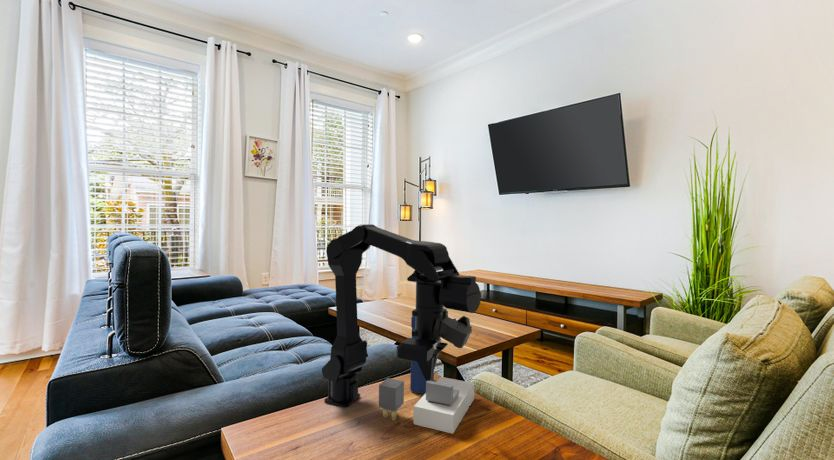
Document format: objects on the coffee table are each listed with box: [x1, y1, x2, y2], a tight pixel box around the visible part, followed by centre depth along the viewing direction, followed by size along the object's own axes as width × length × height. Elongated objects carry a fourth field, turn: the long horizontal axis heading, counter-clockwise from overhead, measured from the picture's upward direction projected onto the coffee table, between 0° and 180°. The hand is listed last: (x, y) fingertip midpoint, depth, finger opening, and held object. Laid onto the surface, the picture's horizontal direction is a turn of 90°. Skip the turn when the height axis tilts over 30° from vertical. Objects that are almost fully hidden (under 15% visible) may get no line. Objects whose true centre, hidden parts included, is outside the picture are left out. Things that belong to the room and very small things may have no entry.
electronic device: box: [409, 315, 435, 395], centre depth 104 cm, size 10×5×20 cm, turn 168°
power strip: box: [413, 376, 475, 434], centre depth 91 cm, size 9×17×4 cm, turn 157°
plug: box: [378, 377, 405, 421], centre depth 88 cm, size 4×4×8 cm
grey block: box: [426, 380, 459, 405], centre depth 89 cm, size 6×6×4 cm
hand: (428, 379), depth 80 cm, fingers closed
